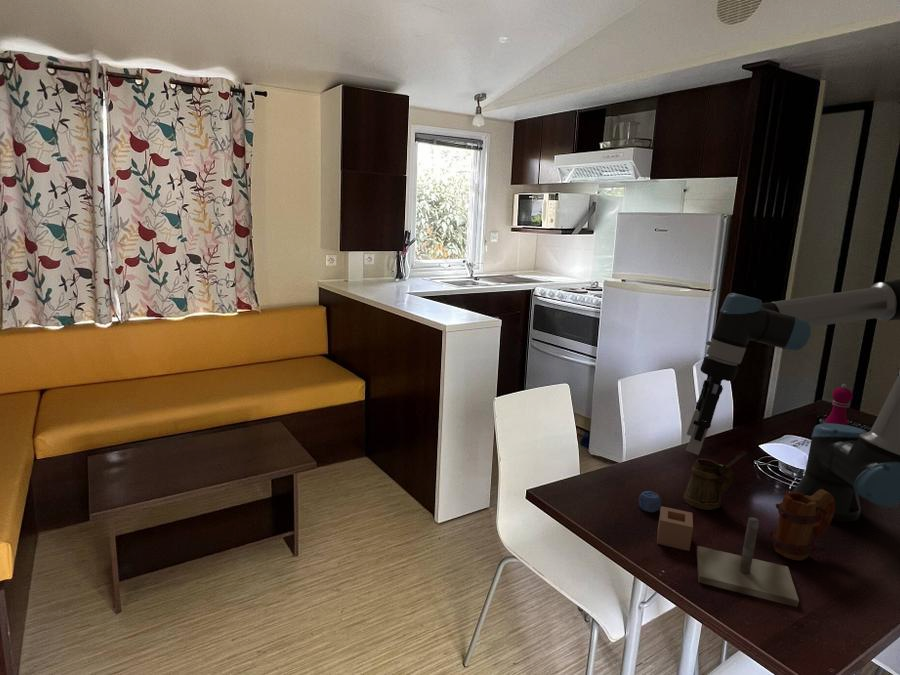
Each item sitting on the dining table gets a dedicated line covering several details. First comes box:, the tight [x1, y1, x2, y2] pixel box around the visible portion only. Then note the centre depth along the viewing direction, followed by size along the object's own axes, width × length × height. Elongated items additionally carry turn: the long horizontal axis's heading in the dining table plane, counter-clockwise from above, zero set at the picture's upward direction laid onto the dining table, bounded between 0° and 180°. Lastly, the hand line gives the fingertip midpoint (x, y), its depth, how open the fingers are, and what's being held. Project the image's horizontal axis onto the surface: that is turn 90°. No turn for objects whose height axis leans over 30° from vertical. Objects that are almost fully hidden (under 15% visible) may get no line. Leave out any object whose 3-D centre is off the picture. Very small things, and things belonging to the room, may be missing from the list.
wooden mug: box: [682, 450, 748, 511], centre depth 147 cm, size 9×14×18 cm, turn 41°
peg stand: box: [696, 516, 800, 608], centre depth 118 cm, size 18×12×14 cm, turn 69°
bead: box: [656, 506, 694, 552], centre depth 132 cm, size 7×7×6 cm
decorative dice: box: [638, 490, 662, 513], centre depth 146 cm, size 4×4×4 cm
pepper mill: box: [824, 383, 854, 426], centre depth 201 cm, size 7×7×20 cm
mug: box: [769, 489, 835, 561], centre depth 128 cm, size 15×8×15 cm, turn 106°
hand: (692, 443), depth 134 cm, fingers open, 13 cm apart
